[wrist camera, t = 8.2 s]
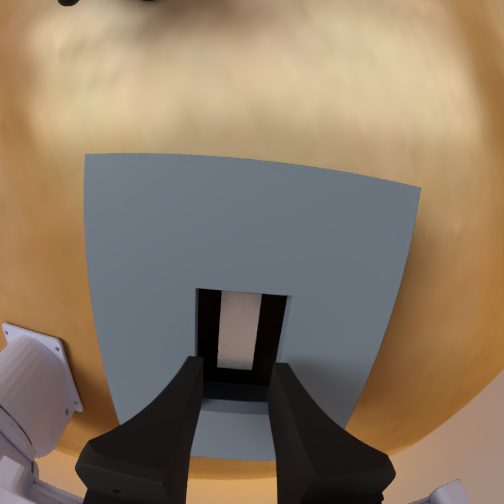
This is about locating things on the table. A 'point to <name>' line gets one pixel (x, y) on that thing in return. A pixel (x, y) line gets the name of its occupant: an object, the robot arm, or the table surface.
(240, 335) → the wooden block
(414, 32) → the table surface
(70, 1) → the toy ball
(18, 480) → the robot arm
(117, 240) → the grey square hole block
